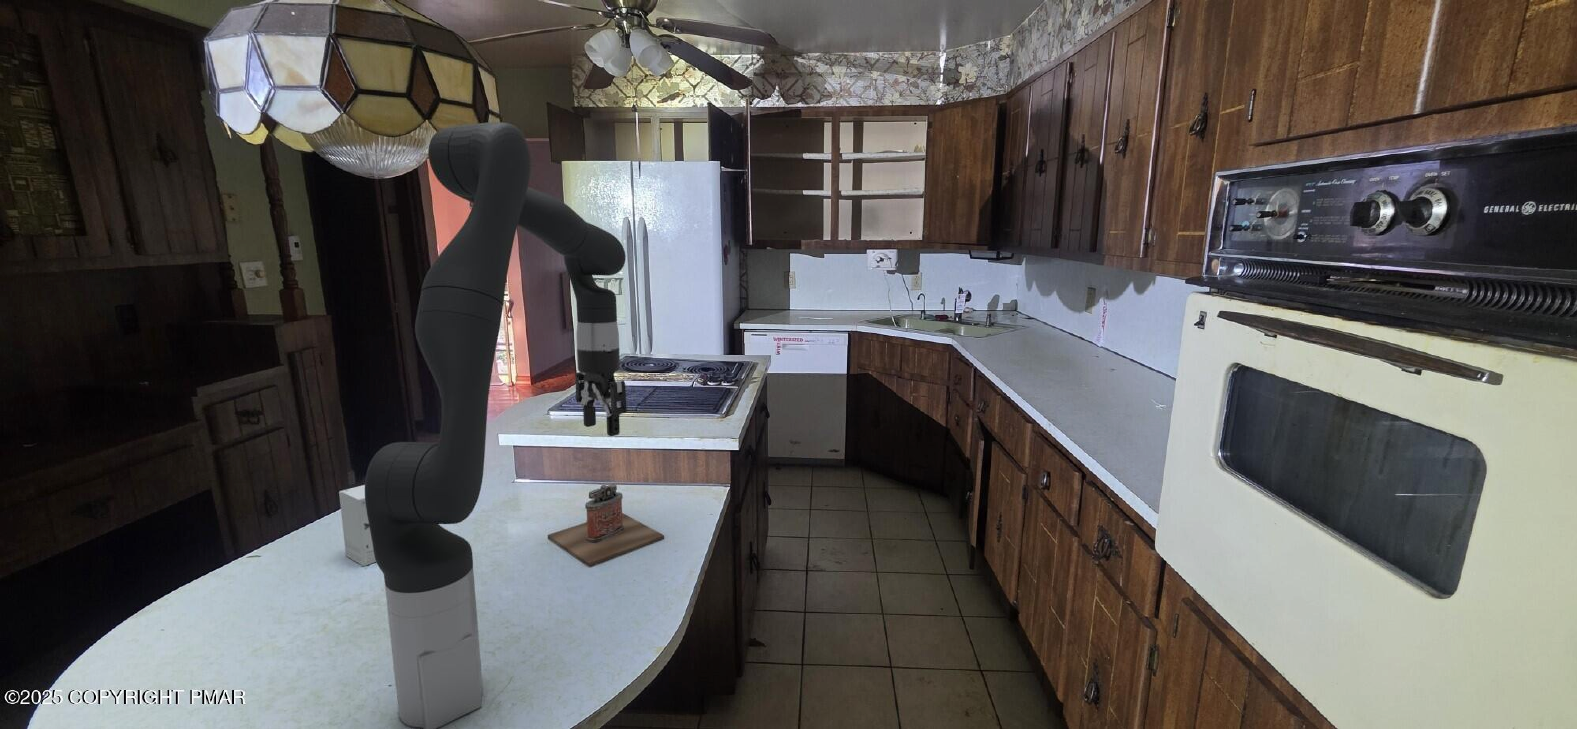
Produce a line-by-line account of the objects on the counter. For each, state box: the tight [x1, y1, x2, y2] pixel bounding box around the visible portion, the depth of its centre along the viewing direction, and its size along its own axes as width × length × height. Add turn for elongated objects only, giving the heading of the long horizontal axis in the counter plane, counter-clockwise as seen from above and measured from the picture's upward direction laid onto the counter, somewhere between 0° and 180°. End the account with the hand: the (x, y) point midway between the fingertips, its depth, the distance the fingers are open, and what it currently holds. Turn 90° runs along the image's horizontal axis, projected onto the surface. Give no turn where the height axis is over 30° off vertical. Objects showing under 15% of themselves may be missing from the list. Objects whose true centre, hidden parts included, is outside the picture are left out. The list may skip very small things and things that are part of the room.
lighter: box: [584, 483, 624, 543], centre depth 122 cm, size 8×3×10 cm, turn 145°
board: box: [547, 512, 665, 568], centre depth 123 cm, size 16×16×1 cm
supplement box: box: [338, 484, 377, 567], centre depth 115 cm, size 7×7×13 cm
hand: (601, 430), depth 119 cm, fingers open, 8 cm apart
